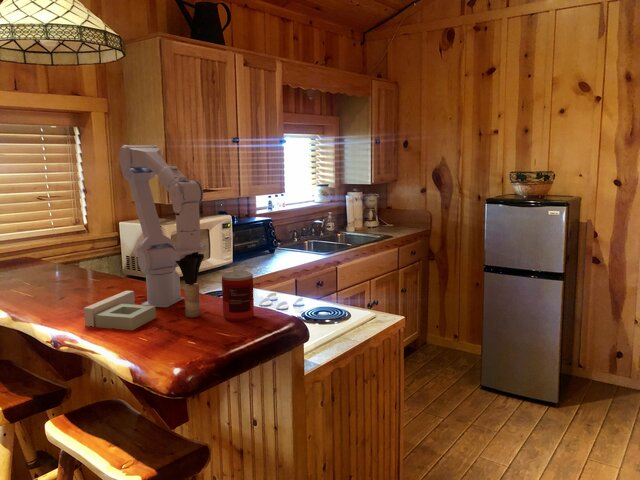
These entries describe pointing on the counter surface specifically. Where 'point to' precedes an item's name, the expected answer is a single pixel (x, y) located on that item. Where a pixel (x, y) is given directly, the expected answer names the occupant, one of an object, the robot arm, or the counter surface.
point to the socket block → (125, 316)
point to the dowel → (192, 300)
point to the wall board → (107, 306)
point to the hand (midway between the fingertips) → (191, 283)
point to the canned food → (237, 296)
